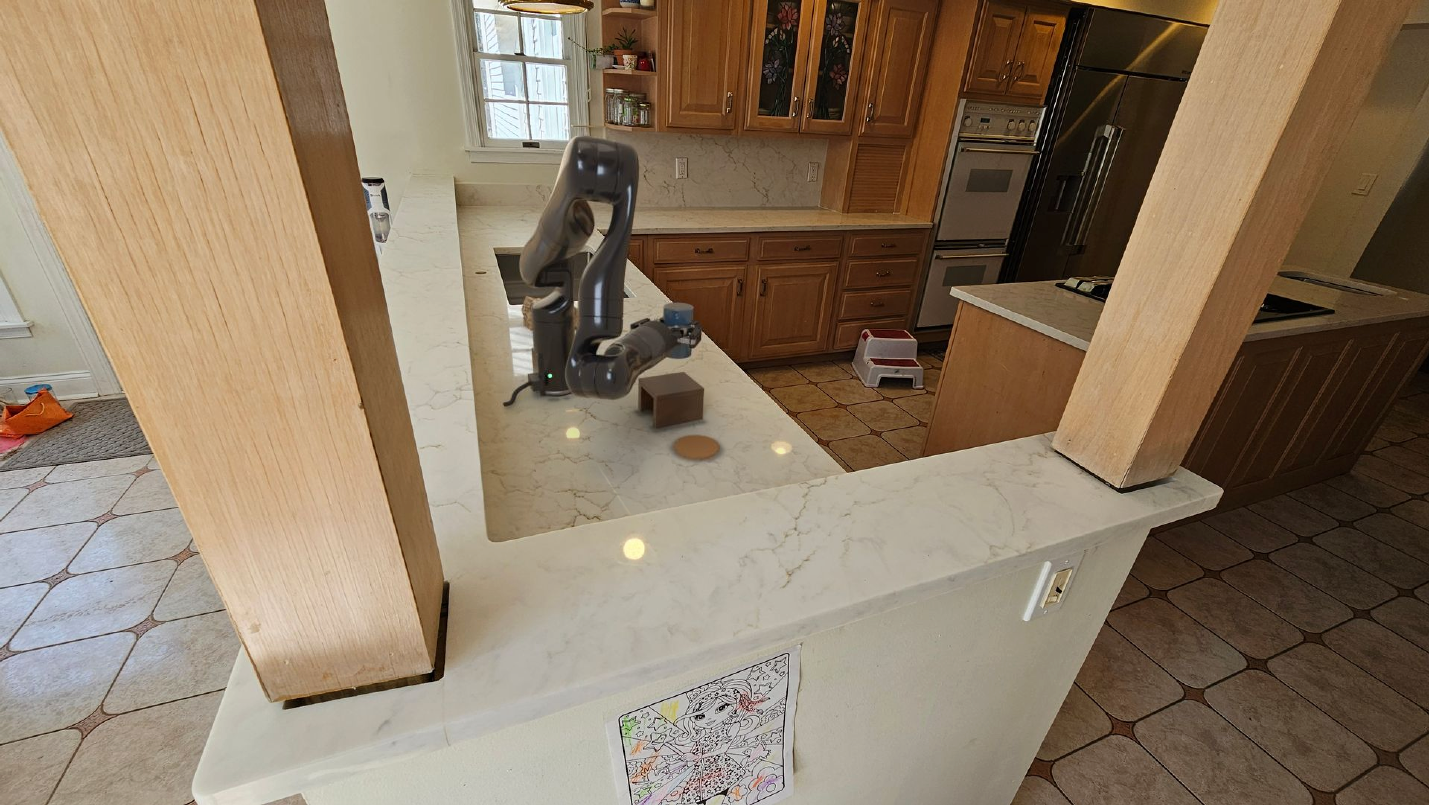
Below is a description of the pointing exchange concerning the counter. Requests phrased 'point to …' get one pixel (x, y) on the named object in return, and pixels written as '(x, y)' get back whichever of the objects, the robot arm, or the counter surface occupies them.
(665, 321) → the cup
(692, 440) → the coaster
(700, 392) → the shelf
